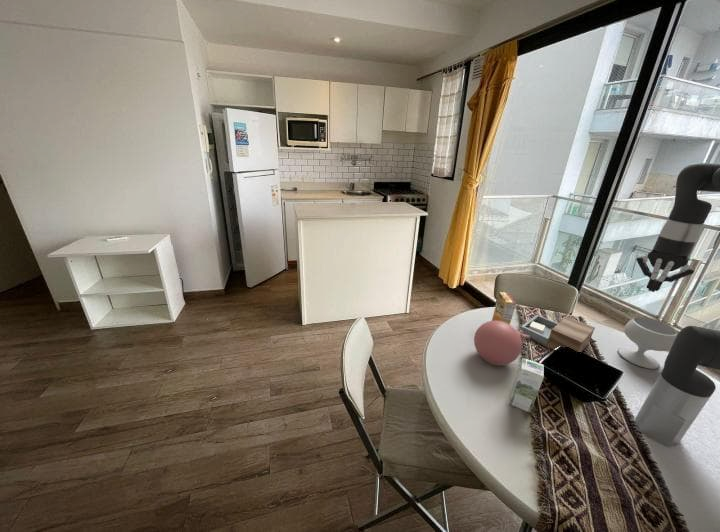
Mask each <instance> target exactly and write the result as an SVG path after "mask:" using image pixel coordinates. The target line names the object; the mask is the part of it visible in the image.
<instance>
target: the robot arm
mask: <svg viewBox="0 0 720 532" xmlns="http://www.w3.org/2000/svg"><path fill="white" fill-rule="evenodd" d="M675 182H676V183H675V184H676V185H675V196H674V204H673V207H672V209H671V211H670V214H669V216H668V217H667V220H666V221H665V222H664V224H663V226H662V228H661V230H660V232H659V234H658V237H657V239H656V242H655V243H654V245H653V248H652V250H651V251H650V252H648V254H647V255H639V256H638V257H637V258H636V259H635V260H636V261H637V264H638V266H639V268H640V270H641V271H642V274H643V276H645V277H648V278H649V280H648V282H647V284H646V289H648V290H647V291H648V292H653V293H655V292H658V291H660V289H661V287H662V285H663V283H664V282H668V283H673V282H674V281H677V280H679V279H683V278H685V277H687V276H690V275H692V274H694V273H695V268H694V267H693V268H692V267H691V266H690V265H689V256H690V254H691V252H692V250H693V248H694V246H695V244H696V242H697V241H698V240H699V237H700V235H701V232H702V229H703V226H704V224H705V221H706V220H707V218H708V216H709V215H710V212H711V210H712V208H713V207H712V204H711V202H708V201H707V200H702V199H699V198H698V191H699V192H710V193H711V192H712V193H720V163H713V162H712V163H710V162H694V163H693V162H692V163H690V164H688V165H687V166H685V167H684V168H683V169H681V171H680V172H679V174H678V175H677V178H676V181H675ZM648 261H649V262H650V265H651V267H653V270H652V272H651V270H650V268H649V266H648V263H647V262H648ZM678 269H680V272H677V273H675V274H673V275H670V276H669V275H668V274H669V273H670V272H675V271H677V270H678ZM661 270H662V272H661V274H660V275H659V273H660V271H661ZM658 276H659V277H658ZM698 366H701V367H706V368H709V369H713V370H718V371H720V330H716V329H712V328H707V327H701V326H697V325H687V326H685V327H683V328H682V329H681V330H679V332H677V336H676V338H675V340H674V343H673V345H672V347H671V349H670V350H669V352H668V354H667V356H666V359H665V361H664V364H663V368H662V371H661V373H660V374H659V376H658V377H657V379H656V381H655V382H654V384H653V386H652V388H651V390H650V392H649V393H648V395H647V396H646V399H645V400H644V401H643V404H642V405H641V407H640V410H639V411H638V412H637V415H636V416H635V418H634V422H635V424H636V426H637V427H638V431H639V432H640V433H642V434H644V435H645V436H647V437H649V438H651V439H653V440H654V441H656V442H658V443H659V444H662V446H663V445H664V446H665V447H667V448H670V447H671V446H677V445H679V444H680V442H681V441H682V439H683V438H684V436H685V435H686V434H687V432H688V430H689V429H690V428H691V426H692V425H693V423H694V422H695V420H696V419H697V417H698V416H699V414H700V413H701V412H702V410H703V408H704V407H705V405H706V404H707V403H708V401H709V400H710V398H711V396H712V395H713V394H714V393H715V390H716V384H715V382H714V381H713V380H712V379H711V378H710V377H709V376H707V375H706V374H705V373H703V372H702V371H699V370H698V369H697V367H698Z"/></svg>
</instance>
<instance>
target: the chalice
mask: <svg viewBox="0 0 720 532" xmlns="http://www.w3.org/2000/svg"><path fill="white" fill-rule="evenodd" d="M623 331H624V335H625V336H626V337H627V338H628V339H629V340H630V341H631V342H633V343H634V344H635V345H636V346H637V348H638V349H636V348H632V347H626V346H625V347H624V346H622V347H619V348H617V353H618V355H619V356H620V357H622V358H623V359H624V360H626V361H627V362H630V363H631V364H633V365H636V366H638V367H641V368H645V369H649V370H655V369H656V370H657V369H659V368H660V367H661V366H660V363H659V361H658V360H657V359H655V357H653V356H652V355H650V354H649V353H647V351H655V352H667V351H670V349H671V347H672V345H673V343H674V340H675V338H676V336H677V335H678V332H677V330H676V329H675V328H674V327H672V326H671V325H669V324H667V323H665V322H662V321H660V320H657V319H654V318H650V317H646V316H645V317H644V316H635V317H633V318H631V319H630V320H629V321H627V323H626V324H625V326H624V329H623Z"/></svg>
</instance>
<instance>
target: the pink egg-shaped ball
mask: <svg viewBox="0 0 720 532" xmlns="http://www.w3.org/2000/svg"><path fill="white" fill-rule="evenodd" d="M475 331H476V332H475V333H474V338H473V343H474V347H475V350H476V352H477V354H478V355H479V356H480V357H481V358H482V359H483V360H484V361H486V362H487V363H489V364H492V365H495V366H505V365H510V364H511V363H513V362H515V360H517V359H518V357H519V356H520V354H521V351H522V347H523V343H524V342H525V340H527V339H528V340H529V339H530V336H529V335H525V334H524V333H523V331H522V330H520V329H518V330H516V328H515V327H513V326H512V325H511V324H510V325H509V324H507V323H505V322H502V321H492V320H490V321H487V322H484V323H482V324H481V325H480V326H479V327H478V328H477V330H475Z"/></svg>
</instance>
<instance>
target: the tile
mask: <svg viewBox="0 0 720 532" xmlns="http://www.w3.org/2000/svg"><path fill="white" fill-rule="evenodd" d="M529 329H531V330H533V331H535V332H538V333H540V334H542V333H543V331H544V329H545V326H544V325H542V324H539V323H536V322H533V321H532V323H531V324H530V326H529Z"/></svg>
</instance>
